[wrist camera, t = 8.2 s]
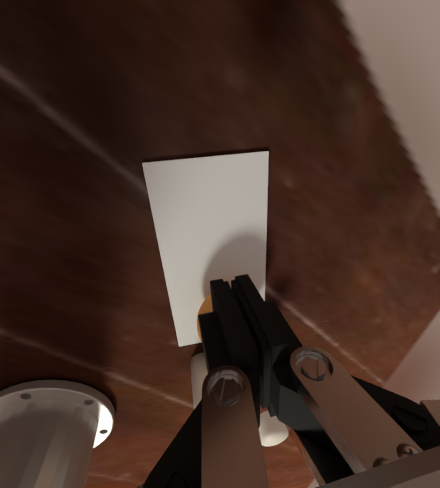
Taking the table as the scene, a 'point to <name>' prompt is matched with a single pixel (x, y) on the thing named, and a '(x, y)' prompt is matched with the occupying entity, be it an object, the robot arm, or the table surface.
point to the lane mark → (208, 227)
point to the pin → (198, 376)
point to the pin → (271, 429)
